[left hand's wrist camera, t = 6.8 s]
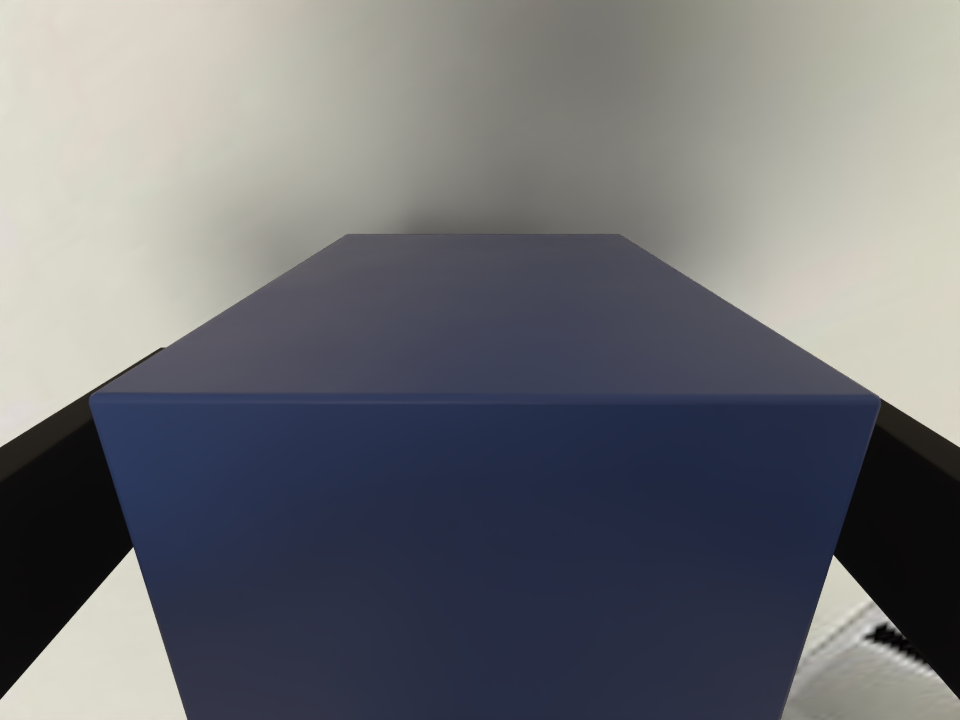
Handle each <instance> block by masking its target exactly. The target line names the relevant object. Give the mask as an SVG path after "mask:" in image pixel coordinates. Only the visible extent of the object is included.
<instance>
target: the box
mask: <svg viewBox="0 0 960 720" xmlns="http://www.w3.org/2000/svg"><path fill="white" fill-rule="evenodd" d="M89 406H90V409H91V412H92V416H93V419H94V422H95V425H96V428H97V432H98V435H99V438H100V441H101V444H102V448H103V451H104V454H105V457H106V460H107V464H108V467H109V470H110V473H111V476H112V480H113V483H114V486H115V489H116V492H117V496H118V499H119V502H120V505H121V508H122V512H123V515H124V518H125V521H126V524H127V528H128V531H129V534H130V537H131V540H132V544H133V547H134V550H135V553H136V556H137V560H138V563H139V566H140V569H141V572H142V576H143V579H144V582H145V585H146V588H147V592H148V595H149V598H150V601H151V604H152V608H153V611H154V614H155V617H156V620H157V624H158V627H159V630H160V633H161V636H162V640H163V643H164V646H165V649H166V652H167V656H168V659H169V662H170V665H171V668H172V672H173V675H174V678H175V681H176V684H177V688H178V691H179V694H180V697H181V700H182V704H183V707H184V710H185V713H186V716H187V720H780V719H781V716H782V713H783V710H784V707H785V704H786V701H787V697H788V694H789V691H790V688H791V685H792V682H793V679H794V676H795V673H796V669H797V666H798V663H799V660H800V657H801V654H802V651H803V648H804V644H805V641H806V638H807V635H808V632H809V629H810V626H811V623H812V619H813V616H814V613H815V610H816V607H817V604H818V601H819V598H820V594H821V591H822V588H823V585H824V582H825V579H826V576H827V573H828V569H829V566H830V563H831V560H832V557H833V554H834V551H835V548H836V545H837V541H838V538H839V535H840V532H841V529H842V526H843V523H844V520H845V516H846V513H847V510H848V507H849V504H850V501H851V498H852V495H853V491H854V488H855V485H856V482H857V479H858V476H859V473H860V470H861V466H862V463H863V460H864V457H865V454H866V451H867V448H868V445H869V441H870V438H871V435H872V432H873V429H874V426H875V423H876V420H877V417H878V413H879V410H880V407H881V399H880V398H879V396H878V395H876V394H874V393H873V392H871V391H870V390H868V389H866V388H865V387H863V386H861V385H860V384H858V383H857V382H855V381H853V380H852V379H850V378H849V377H847V376H845V375H844V374H842V373H841V372H839V371H837V370H836V369H834V368H833V367H831V366H829V365H828V364H826V363H825V362H823V361H821V360H820V359H818V358H817V357H815V356H813V355H812V354H810V353H809V352H807V351H805V350H804V349H802V348H801V347H799V346H797V345H796V344H794V343H793V342H791V341H789V340H788V339H786V338H785V337H783V336H781V335H780V334H778V333H777V332H775V331H773V330H772V329H770V328H769V327H767V326H765V325H764V324H762V323H761V322H759V321H757V320H756V319H754V318H753V317H751V316H749V315H748V314H746V313H745V312H743V311H741V310H740V309H738V308H737V307H735V306H733V305H732V304H730V303H729V302H727V301H725V300H724V299H722V298H721V297H719V296H717V295H716V294H714V293H713V292H711V291H709V290H708V289H706V288H705V287H703V286H701V285H700V284H698V283H697V282H695V281H693V280H692V279H690V278H689V277H687V276H685V275H684V274H682V273H681V272H679V271H677V270H676V269H674V268H673V267H671V266H669V265H668V264H666V263H665V262H663V261H661V260H660V259H658V258H657V257H655V256H653V255H652V254H650V253H648V252H647V251H645V250H644V249H642V248H640V247H639V246H637V245H636V244H634V243H632V242H631V241H629V240H628V239H626V238H624V237H623V236H621V235H619V234H347V235H345V236H343V237H342V238H340V239H339V240H337V241H335V242H334V243H332V244H331V245H329V246H327V247H326V248H324V249H323V250H321V251H320V252H318V253H316V254H315V255H313V256H312V257H310V258H308V259H307V260H305V261H304V262H302V263H300V264H299V265H297V266H296V267H294V268H292V269H291V270H289V271H288V272H286V273H284V274H283V275H281V276H280V277H278V278H276V279H275V280H273V281H272V282H270V283H268V284H267V285H265V286H264V287H262V288H260V289H259V290H257V291H256V292H254V293H252V294H251V295H249V296H248V297H246V298H245V299H243V300H241V301H240V302H238V303H237V304H235V305H233V306H232V307H230V308H229V309H227V310H225V311H224V312H222V313H221V314H219V315H217V316H216V317H214V318H213V319H211V320H209V321H208V322H206V323H205V324H203V325H201V326H200V327H198V328H197V329H195V330H193V331H192V332H190V333H189V334H187V335H185V336H184V337H182V338H181V339H179V340H177V341H176V342H174V343H173V344H171V345H169V346H168V347H166V348H165V349H163V350H162V351H160V352H158V353H157V354H155V355H154V356H152V357H150V358H149V359H147V360H146V361H144V362H142V363H141V364H139V365H138V366H136V367H134V368H133V369H131V370H130V371H128V372H126V373H125V374H123V375H122V376H120V377H118V378H117V379H115V380H114V381H112V382H110V383H109V384H107V385H106V386H104V387H102V388H101V389H99V390H98V391H96V392H94V393H93V394H91V396H90V397H89Z"/></svg>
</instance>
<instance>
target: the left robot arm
mask: <svg viewBox="0 0 960 720" xmlns="http://www.w3.org/2000/svg"><path fill="white" fill-rule="evenodd" d="M163 349H165V348H159V349H158V350H156V351H155V352H153V353H151V354H150V355H148V356H147V357H145V358H143V359H142V360H140V361H139V362H137V363H135V364H134V365H132V366H130V367H129V368H127V369H126V370H124V371H122V372H121V373H119V374H118V375H116V376H114V377H113V378H111V379H110V380H108V381H106V382H105V383H103V384H102V385H100V386H98V387H97V388H95V389H93V390H92V391H90V392H89V393H87V394H85V395H84V396H82V397H81V398H79V399H77V400H76V401H74V402H73V403H71V404H69V405H68V406H66V407H65V408H63V409H61V410H60V411H58V412H57V413H55V414H53V415H52V416H50V417H48V418H47V419H45V420H44V421H42V422H40V423H39V424H37V425H36V426H34V427H32V428H31V429H29V430H28V431H26V432H24V433H23V434H21V435H20V436H18V437H16V438H15V439H13V440H12V441H10V442H8V443H7V444H5V445H3V446H2V447H0V699H1V698H2V697H3V696H4V695H5V694H6V693H7V691H8V690H9V689H10V688H11V687H12V686H13V684H14V683H15V682H16V681H17V680H18V679H19V678H20V676H21V675H22V674H23V673H24V672H25V671H26V670H27V668H28V667H29V666H30V665H31V664H32V663H33V662H34V660H35V659H36V658H37V657H38V656H39V655H40V653H41V652H42V651H43V650H44V649H45V648H46V647H47V645H48V644H49V643H50V642H51V641H52V640H53V639H54V637H55V636H56V635H57V634H58V633H59V632H60V631H61V629H62V628H63V627H64V626H65V625H66V624H67V622H68V621H69V620H70V619H71V618H72V617H73V616H74V614H75V613H76V612H77V611H78V610H79V609H80V608H81V606H82V605H83V604H84V603H85V602H86V601H87V600H88V598H89V597H90V596H91V595H92V594H93V593H94V592H95V590H96V589H97V588H98V587H99V586H100V585H101V583H102V582H103V581H104V580H105V579H106V578H107V577H108V575H109V574H110V573H111V572H112V571H113V570H114V569H115V567H116V566H117V565H118V564H119V563H120V562H121V561H122V559H123V558H124V557H125V556H126V555H127V554H128V552H129V551H130V550H131V549H132V548H133V544H132V540H131V537H130V534H129V531H128V528H127V524H126V521H125V518H124V515H123V512H122V508H121V505H120V502H119V499H118V496H117V492H116V489H115V486H114V483H113V480H112V476H111V473H110V470H109V467H108V464H107V460H106V457H105V454H104V451H103V448H102V444H101V441H100V438H99V435H98V432H97V428H96V425H95V422H94V419H93V416H92V412H91V409H90V406H89V397H90V396H91V394H93V393H94V392H96V391H98V390H99V389H101V388H102V387H104V386H106V385H107V384H109V383H110V382H112V381H114V380H115V379H117V378H118V377H120V376H122V375H123V374H125V373H126V372H128V371H130V370H131V369H133V368H134V367H136V366H138V365H139V364H141V363H142V362H144V361H146V360H147V359H149V358H150V357H152V356H154V355H155V354H157V353H158V352H160V351H162V350H163ZM880 399H881V398H880ZM833 555H834V556H835V557H836V558H837V559H838V561H839V562H840V563H841V564H842V565H843V566H844V567H845V569H846V570H847V571H848V572H849V573H850V574H851V575H852V577H853V578H854V579H855V580H856V581H857V582H858V583H859V585H860V586H861V587H862V588H863V589H864V590H865V592H866V593H867V594H868V595H869V596H870V597H871V598H872V600H873V601H874V602H875V603H876V604H877V605H878V606H879V608H880V609H881V610H882V611H883V612H884V613H885V614H886V616H887V617H888V618H889V619H890V620H891V621H892V622H893V624H894V625H895V626H896V627H897V628H898V629H899V631H900V632H901V633H902V634H903V635H904V636H905V637H906V639H907V640H908V641H909V642H910V643H911V644H912V645H913V647H914V648H915V649H916V650H917V651H918V652H919V653H920V655H921V656H922V657H923V658H924V659H925V660H926V662H927V663H928V664H929V665H930V666H931V667H932V668H933V670H934V671H935V672H936V673H937V674H938V675H939V676H940V678H941V679H942V680H943V681H944V682H945V683H946V684H947V686H948V687H949V688H950V689H951V690H952V691H953V693H954V694H955V695H956V696H957V697H958V698H959V699H960V447H958V446H957V445H955V444H953V443H952V442H950V441H948V440H947V439H945V438H944V437H942V436H940V435H939V434H937V433H936V432H934V431H932V430H931V429H929V428H928V427H926V426H924V425H923V424H921V423H920V422H918V421H916V420H915V419H913V418H912V417H910V416H908V415H907V414H905V413H903V412H902V411H900V410H899V409H897V408H895V407H894V406H892V405H891V404H889V403H887V402H886V401H884V400H883V399H881V407H880V410H879V413H878V417H877V420H876V423H875V426H874V429H873V432H872V435H871V438H870V441H869V445H868V448H867V451H866V454H865V457H864V460H863V463H862V466H861V470H860V473H859V476H858V479H857V482H856V485H855V488H854V491H853V495H852V498H851V501H850V504H849V507H848V510H847V513H846V516H845V520H844V523H843V526H842V529H841V532H840V535H839V538H838V541H837V545H836V548H835V551H834V554H833Z"/></svg>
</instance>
